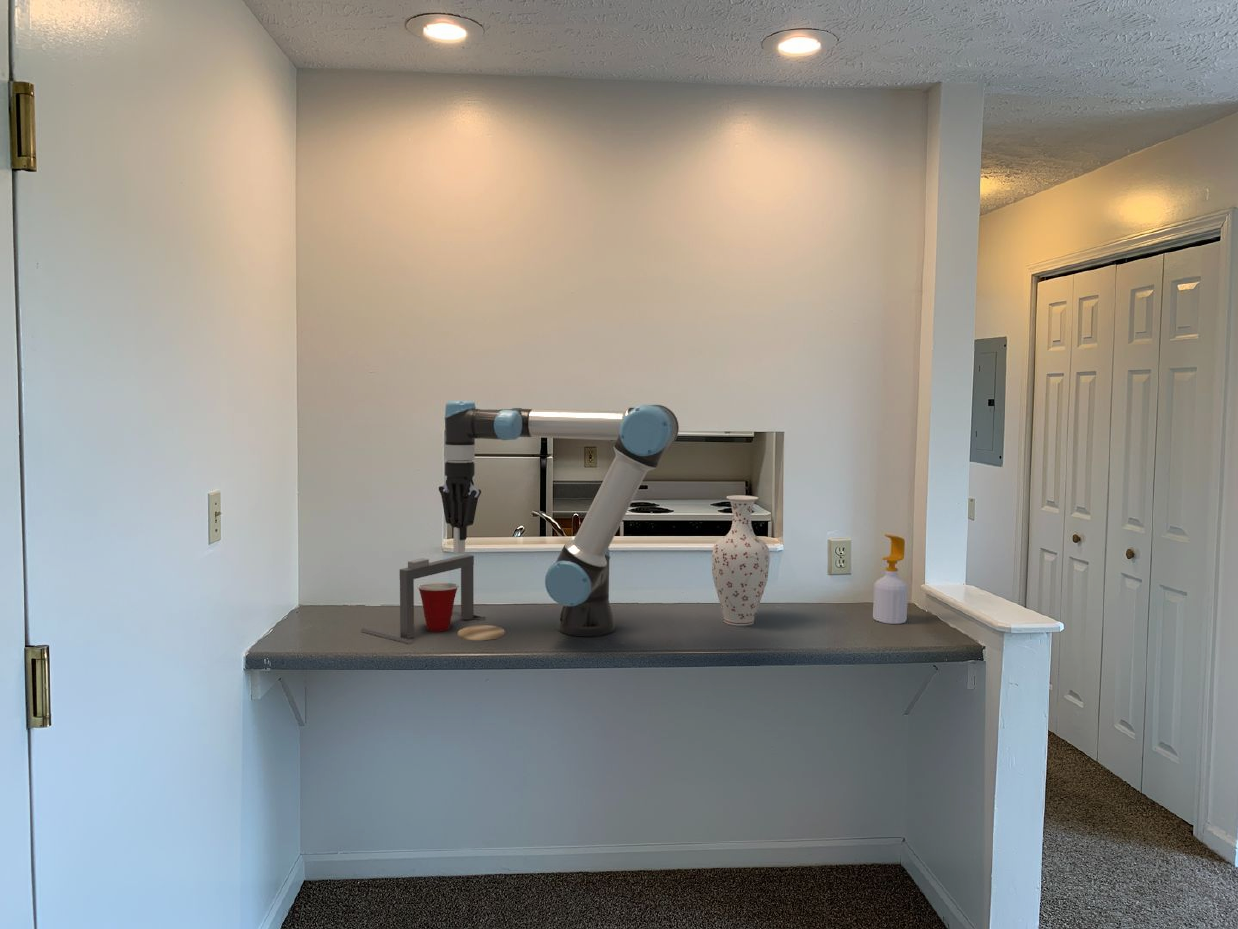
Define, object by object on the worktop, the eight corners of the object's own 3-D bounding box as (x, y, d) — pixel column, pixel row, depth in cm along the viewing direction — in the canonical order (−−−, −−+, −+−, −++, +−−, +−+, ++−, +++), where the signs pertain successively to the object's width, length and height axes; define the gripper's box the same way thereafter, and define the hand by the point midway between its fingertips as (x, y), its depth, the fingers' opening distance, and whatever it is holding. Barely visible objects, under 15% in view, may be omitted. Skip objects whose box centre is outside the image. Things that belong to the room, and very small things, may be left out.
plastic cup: (462, 623, 234) (462, 579, 232) (455, 634, 223) (454, 589, 222) (422, 622, 234) (422, 579, 232) (413, 634, 223) (412, 588, 222)
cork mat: (513, 632, 226) (514, 630, 225) (482, 643, 216) (482, 641, 215) (479, 625, 232) (479, 622, 232) (448, 635, 222) (448, 633, 222)
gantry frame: (473, 618, 238) (473, 549, 236) (407, 639, 217) (406, 564, 215) (466, 616, 239) (466, 548, 237) (400, 637, 219) (399, 563, 217)
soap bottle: (866, 619, 243) (870, 533, 241) (884, 614, 250) (887, 530, 247) (895, 626, 237) (899, 538, 235) (912, 620, 243) (916, 535, 241)
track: (485, 619, 238) (485, 615, 238) (409, 643, 214) (409, 640, 214) (438, 609, 247) (438, 606, 247) (361, 631, 224) (360, 628, 224)
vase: (699, 617, 243) (702, 494, 240) (748, 611, 250) (751, 492, 247) (728, 632, 229) (732, 502, 226) (779, 626, 235) (783, 499, 232)
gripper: (488, 461, 219) (488, 552, 221) (451, 458, 226) (451, 546, 229) (468, 463, 213) (467, 557, 215) (430, 460, 220) (430, 550, 222)
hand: (459, 551), depth 222 cm, fingers closed
